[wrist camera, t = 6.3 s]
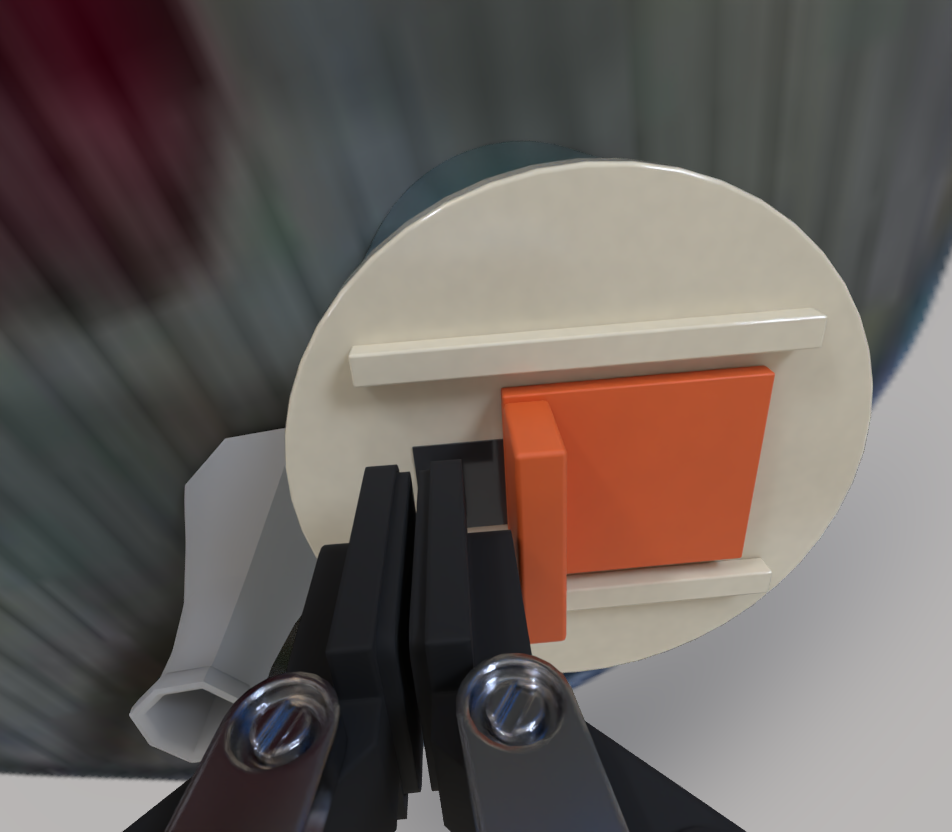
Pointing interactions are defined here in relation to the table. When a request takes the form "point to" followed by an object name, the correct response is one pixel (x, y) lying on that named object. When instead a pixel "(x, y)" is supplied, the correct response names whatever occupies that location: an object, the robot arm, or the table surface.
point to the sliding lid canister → (583, 360)
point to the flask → (229, 592)
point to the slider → (628, 476)
